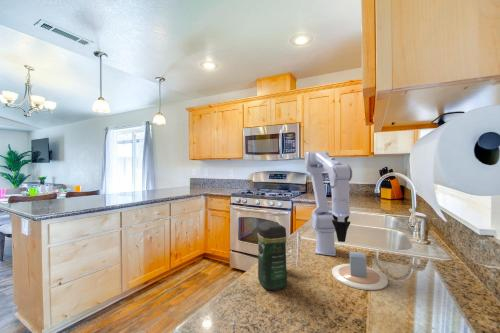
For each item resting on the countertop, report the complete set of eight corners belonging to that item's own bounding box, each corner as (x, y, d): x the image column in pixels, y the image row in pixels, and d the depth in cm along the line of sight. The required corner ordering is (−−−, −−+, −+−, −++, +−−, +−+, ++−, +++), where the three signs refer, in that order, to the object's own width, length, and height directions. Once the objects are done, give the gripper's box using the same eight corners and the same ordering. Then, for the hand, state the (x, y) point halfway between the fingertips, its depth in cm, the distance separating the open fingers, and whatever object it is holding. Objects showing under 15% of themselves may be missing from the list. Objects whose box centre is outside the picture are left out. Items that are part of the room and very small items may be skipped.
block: (349, 269, 75) (349, 251, 75) (364, 271, 74) (364, 253, 74) (350, 275, 71) (350, 256, 71) (366, 277, 70) (366, 258, 70)
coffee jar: (291, 288, 66) (290, 225, 66) (265, 293, 63) (264, 227, 64) (277, 273, 75) (276, 218, 75) (255, 277, 73) (254, 220, 73)
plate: (332, 263, 83) (332, 260, 83) (382, 269, 77) (382, 266, 77) (331, 284, 68) (331, 281, 68) (393, 294, 62) (393, 290, 62)
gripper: (329, 196, 87) (329, 231, 87) (327, 201, 74) (328, 243, 73) (349, 197, 85) (349, 233, 84) (351, 202, 71) (352, 245, 71)
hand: (341, 238), depth 79 cm, fingers open, 7 cm apart
